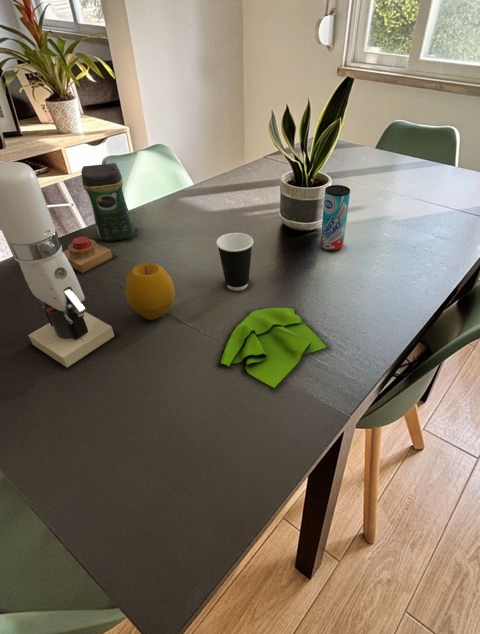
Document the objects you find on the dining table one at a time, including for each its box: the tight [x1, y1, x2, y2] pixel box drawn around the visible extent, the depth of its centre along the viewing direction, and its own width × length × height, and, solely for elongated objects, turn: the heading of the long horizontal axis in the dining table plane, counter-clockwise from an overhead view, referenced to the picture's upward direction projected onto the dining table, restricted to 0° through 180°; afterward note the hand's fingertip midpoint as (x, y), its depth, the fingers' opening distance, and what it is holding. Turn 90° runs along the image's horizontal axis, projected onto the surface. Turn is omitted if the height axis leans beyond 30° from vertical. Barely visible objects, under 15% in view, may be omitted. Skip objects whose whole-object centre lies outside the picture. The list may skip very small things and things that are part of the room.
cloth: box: [220, 307, 328, 389], centre depth 82 cm, size 20×22×2 cm
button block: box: [62, 238, 113, 274], centre depth 106 cm, size 9×9×4 cm
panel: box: [27, 311, 115, 368], centre depth 83 cm, size 11×11×3 cm
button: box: [72, 236, 90, 250], centre depth 104 cm, size 4×4×2 cm
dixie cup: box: [215, 232, 254, 292], centre depth 94 cm, size 8×8×11 cm
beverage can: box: [319, 184, 351, 252], centre depth 106 cm, size 6×6×15 cm
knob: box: [45, 302, 74, 339], centre depth 80 cm, size 5×5×6 cm
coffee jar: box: [80, 162, 136, 242], centre depth 110 cm, size 10×8×19 cm
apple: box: [124, 262, 176, 320], centre depth 86 cm, size 10×10×12 cm
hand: (69, 328), depth 82 cm, fingers open, 6 cm apart
